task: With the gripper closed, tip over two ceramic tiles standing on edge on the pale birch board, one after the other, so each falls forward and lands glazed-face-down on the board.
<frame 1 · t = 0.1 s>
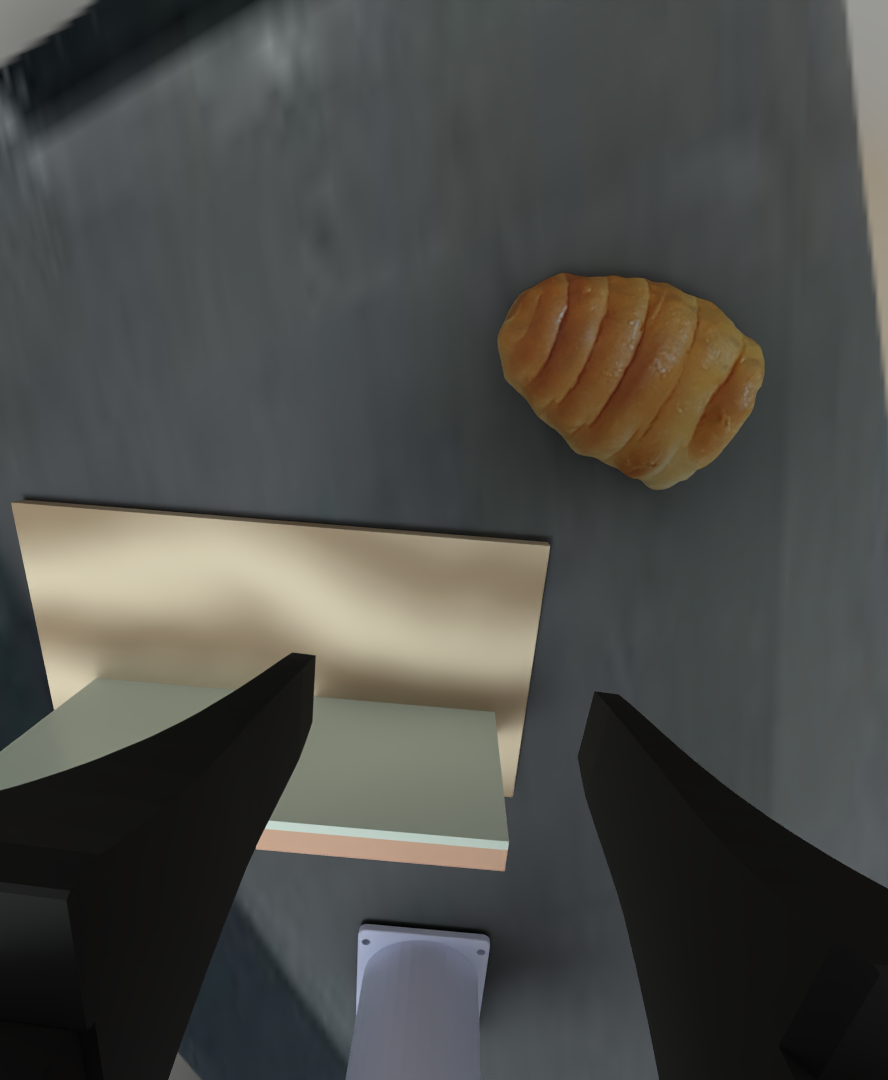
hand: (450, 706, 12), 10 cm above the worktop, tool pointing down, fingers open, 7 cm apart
tile b: (186, 697, 23), point 1 cm above the worktop, touching board
board: (287, 656, 23), on the worktop
tile a: (403, 716, 23), point 1 cm above the worktop, touching board
pastry: (616, 385, 19), on the worktop
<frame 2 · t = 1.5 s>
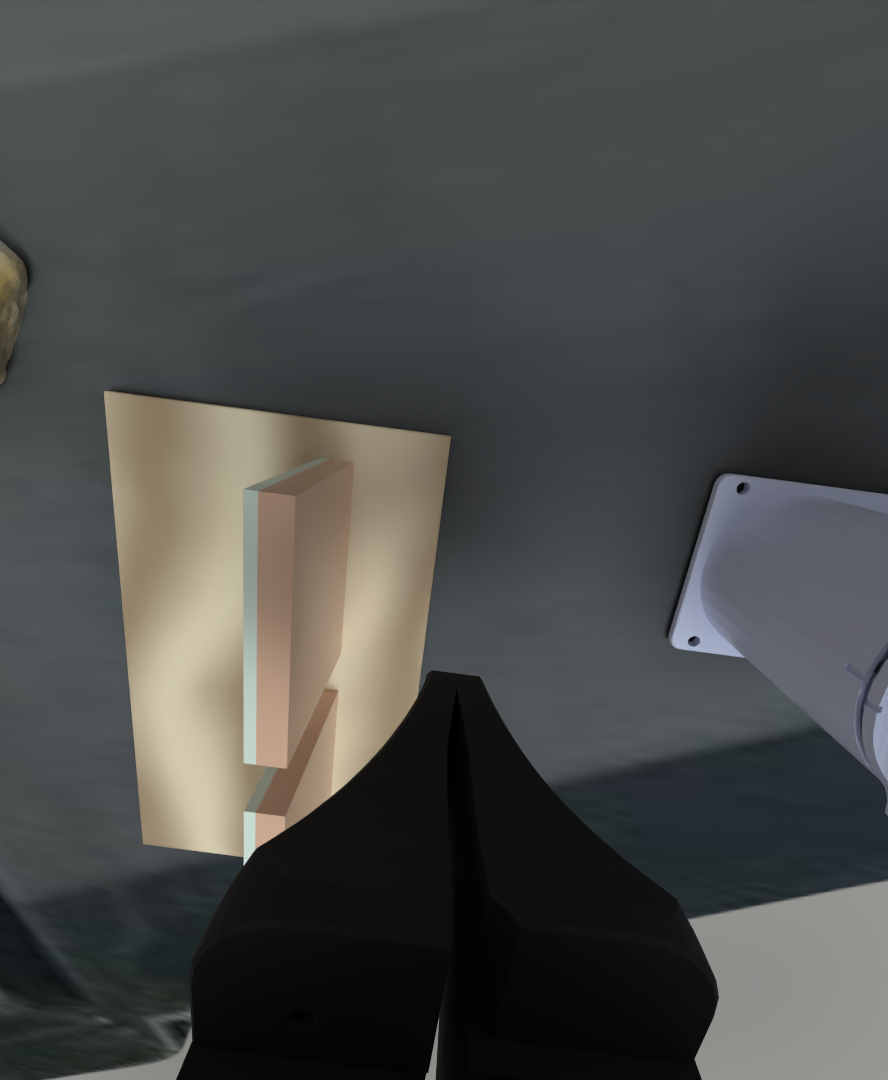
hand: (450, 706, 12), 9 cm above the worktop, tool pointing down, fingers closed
tile b: (319, 764, 23), point 1 cm above the worktop, touching board
board: (277, 665, 23), on the worktop
tile a: (331, 562, 20), point 1 cm above the worktop, touching board
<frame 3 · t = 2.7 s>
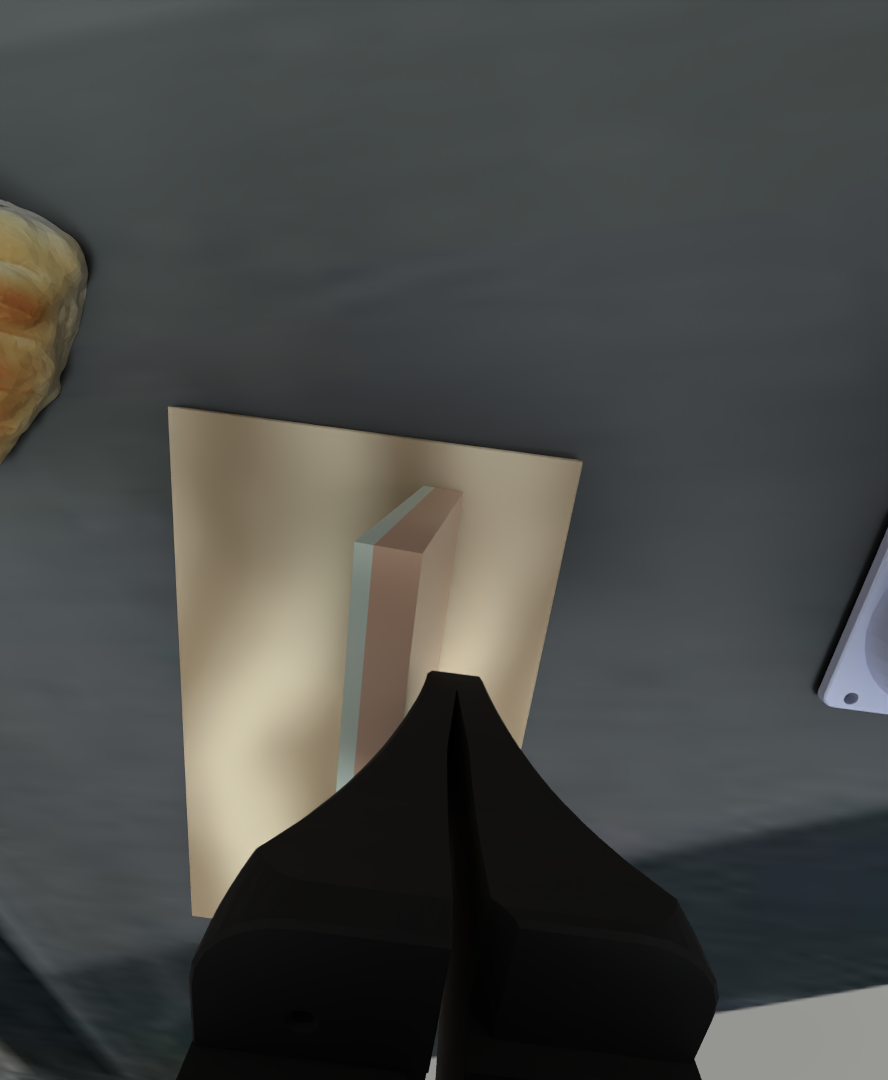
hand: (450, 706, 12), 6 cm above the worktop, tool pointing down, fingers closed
board: (354, 721, 20), on the worktop
tile a: (428, 607, 17), point 1 cm above the worktop, tilted 7°, touching board
pastry: (4, 323, 16), on the worktop
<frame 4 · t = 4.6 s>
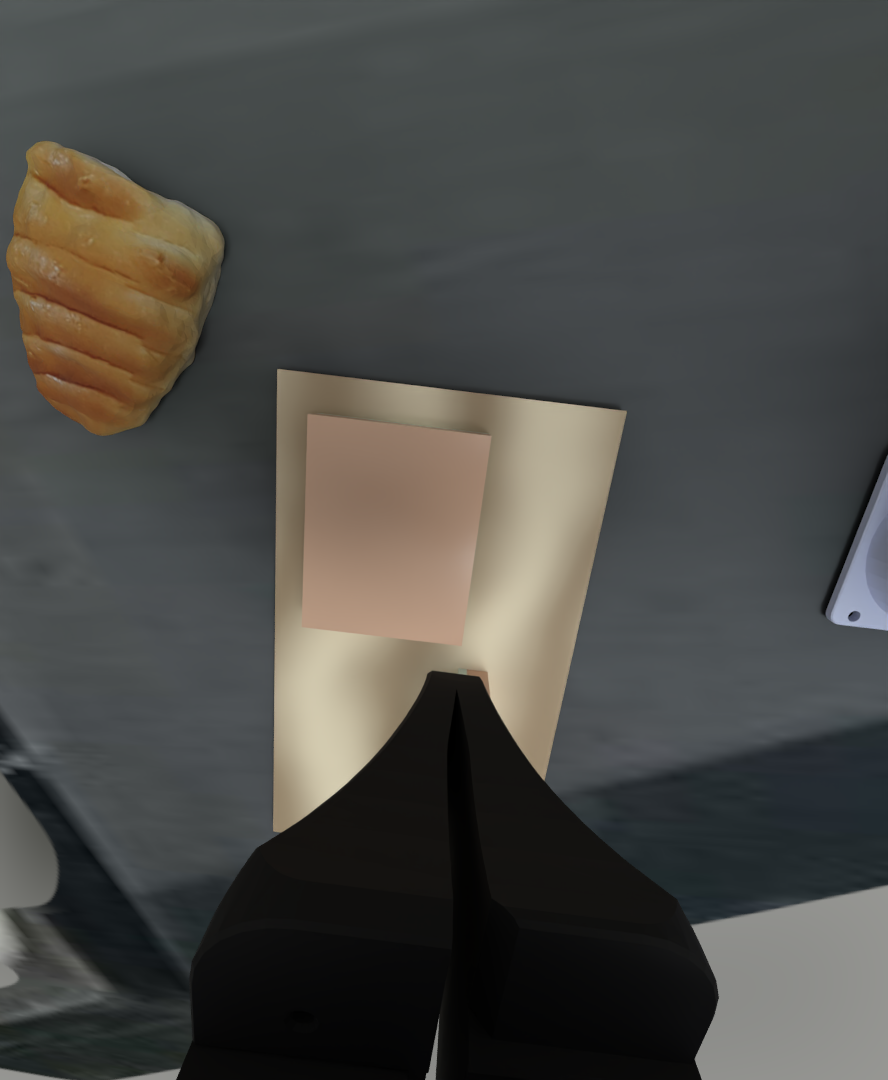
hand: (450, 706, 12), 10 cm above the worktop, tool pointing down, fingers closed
board: (422, 648, 22), on the worktop
tile a: (474, 543, 19), point 1 cm above the worktop, tilted 90°, touching board
pastry: (145, 302, 19), on the worktop
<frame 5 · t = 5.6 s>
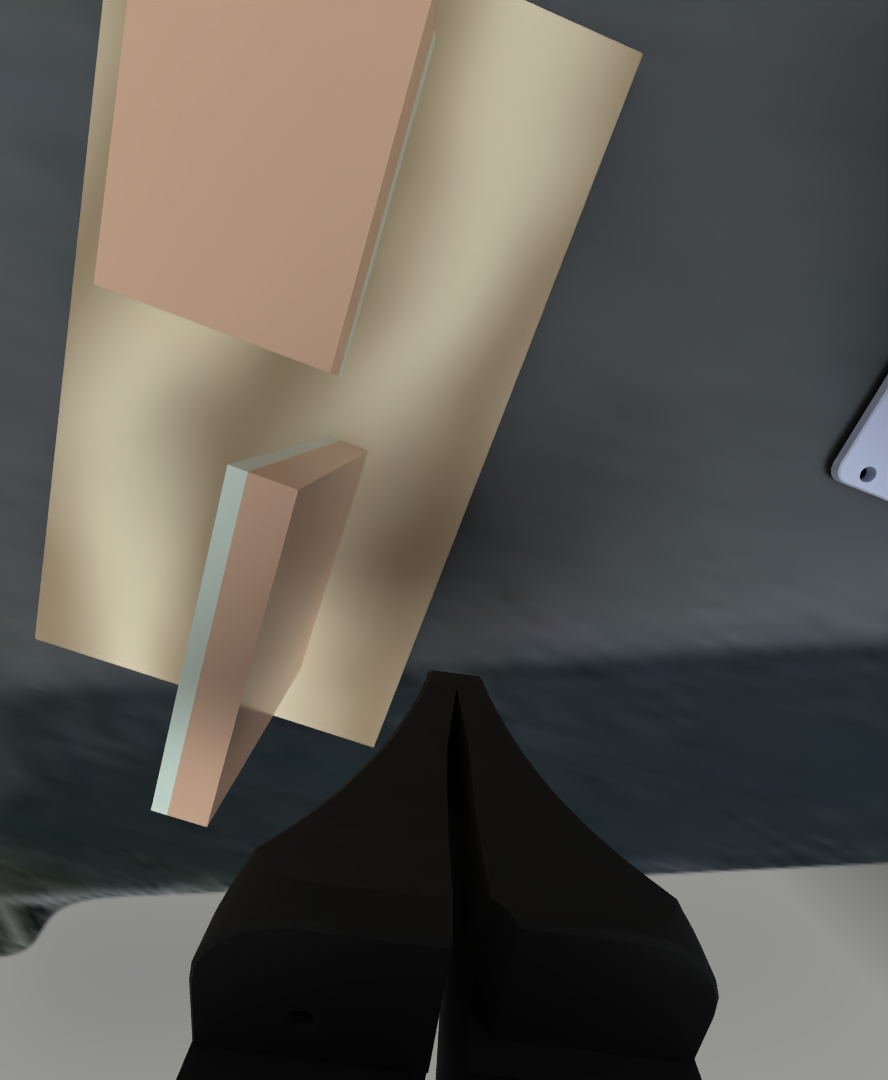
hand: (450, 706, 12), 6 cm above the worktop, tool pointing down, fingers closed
tile b: (313, 561, 17), point 1 cm above the worktop, touching board
board: (286, 402, 16), on the worktop
tile a: (380, 214, 13), point 1 cm above the worktop, tilted 90°, touching board
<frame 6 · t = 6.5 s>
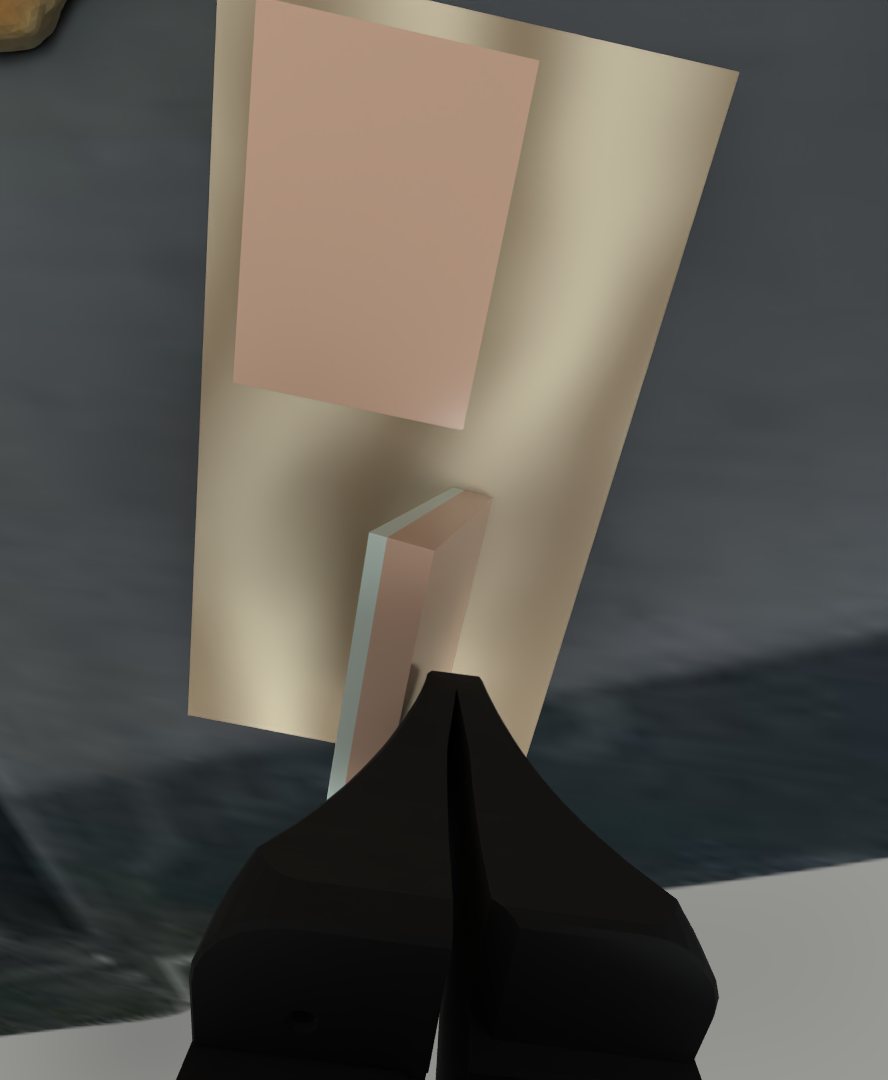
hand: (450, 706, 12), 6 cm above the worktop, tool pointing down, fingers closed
tile b: (447, 609, 17), point 1 cm above the worktop, tilted 14°, touching board
board: (406, 459, 16), on the worktop
tile a: (495, 271, 13), point 1 cm above the worktop, tilted 90°, touching board
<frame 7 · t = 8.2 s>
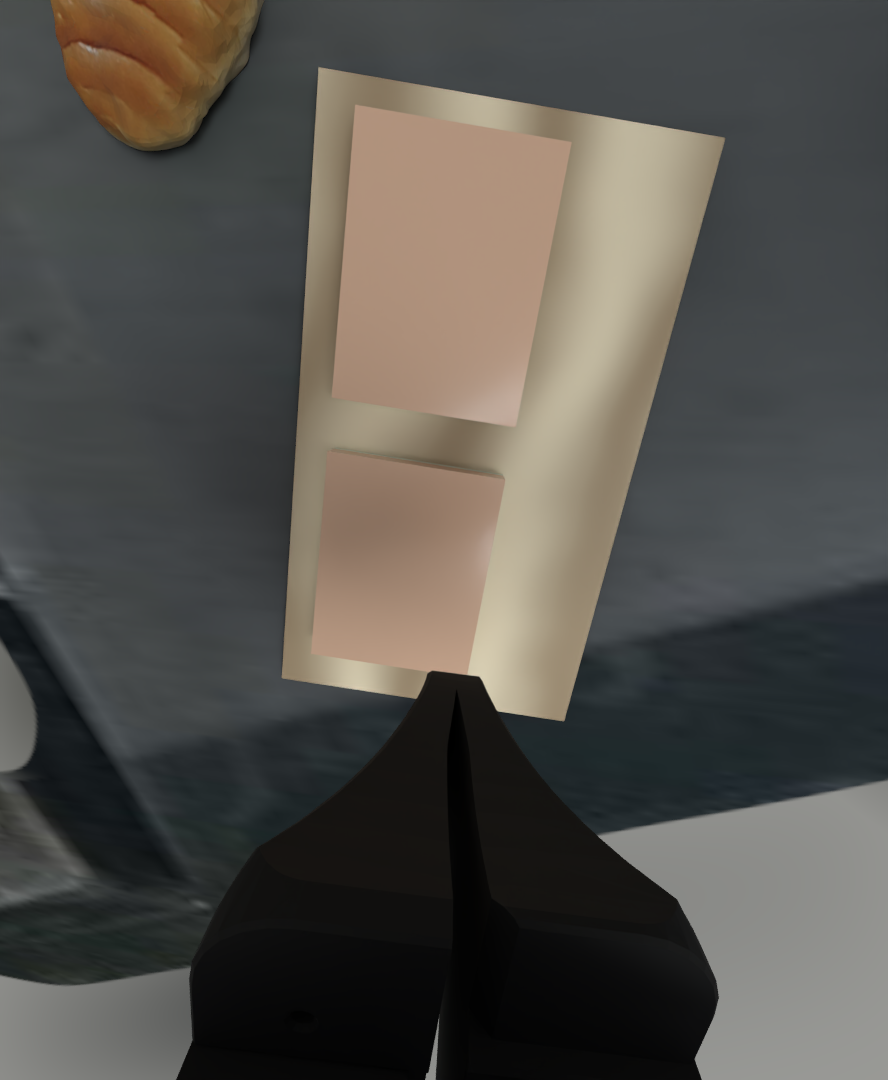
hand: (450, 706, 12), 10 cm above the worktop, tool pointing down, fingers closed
tile b: (483, 579, 20), point 1 cm above the worktop, tilted 90°, touching board
board: (464, 454, 20), on the worktop
tile a: (538, 300, 17), point 1 cm above the worktop, tilted 90°, touching board
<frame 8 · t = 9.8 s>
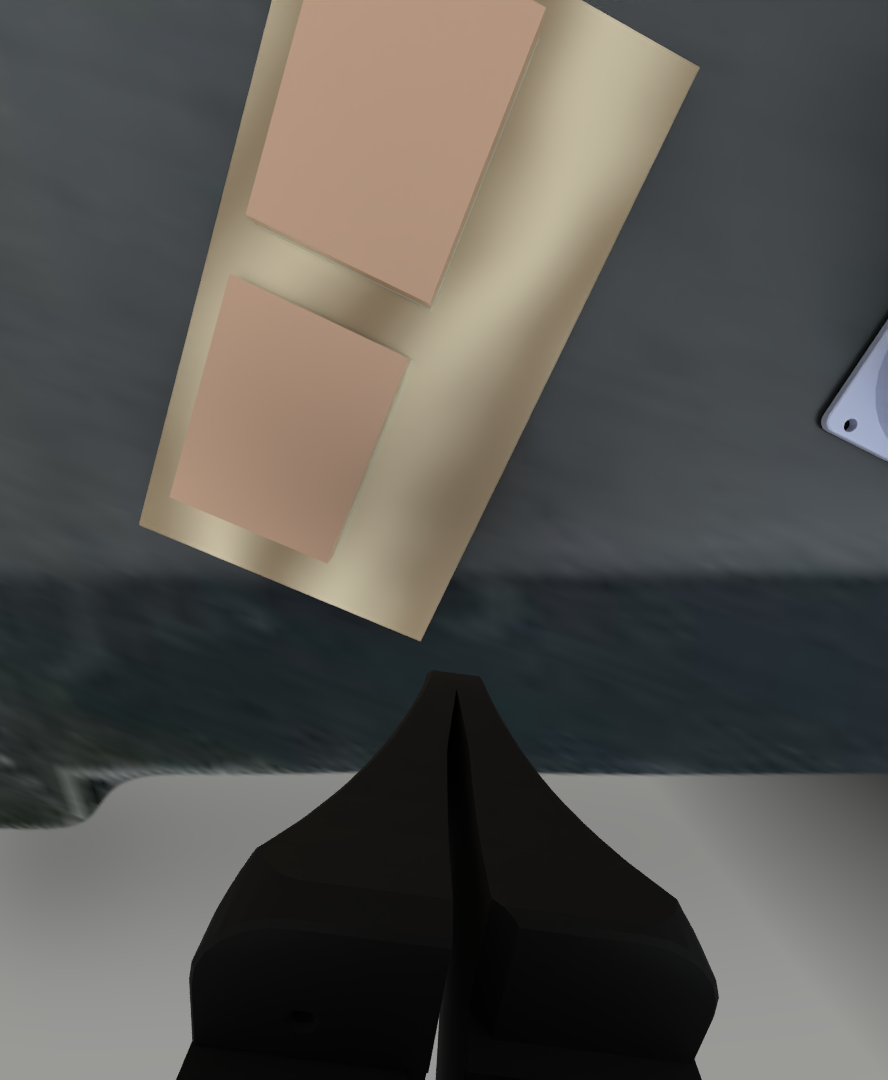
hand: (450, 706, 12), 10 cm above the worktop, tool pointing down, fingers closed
tile b: (368, 465, 19), point 1 cm above the worktop, tilted 90°, touching board
board: (380, 332, 19), on the worktop
tile a: (482, 177, 16), point 1 cm above the worktop, tilted 90°, touching board
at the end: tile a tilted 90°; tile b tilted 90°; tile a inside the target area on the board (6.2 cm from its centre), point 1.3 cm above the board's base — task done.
